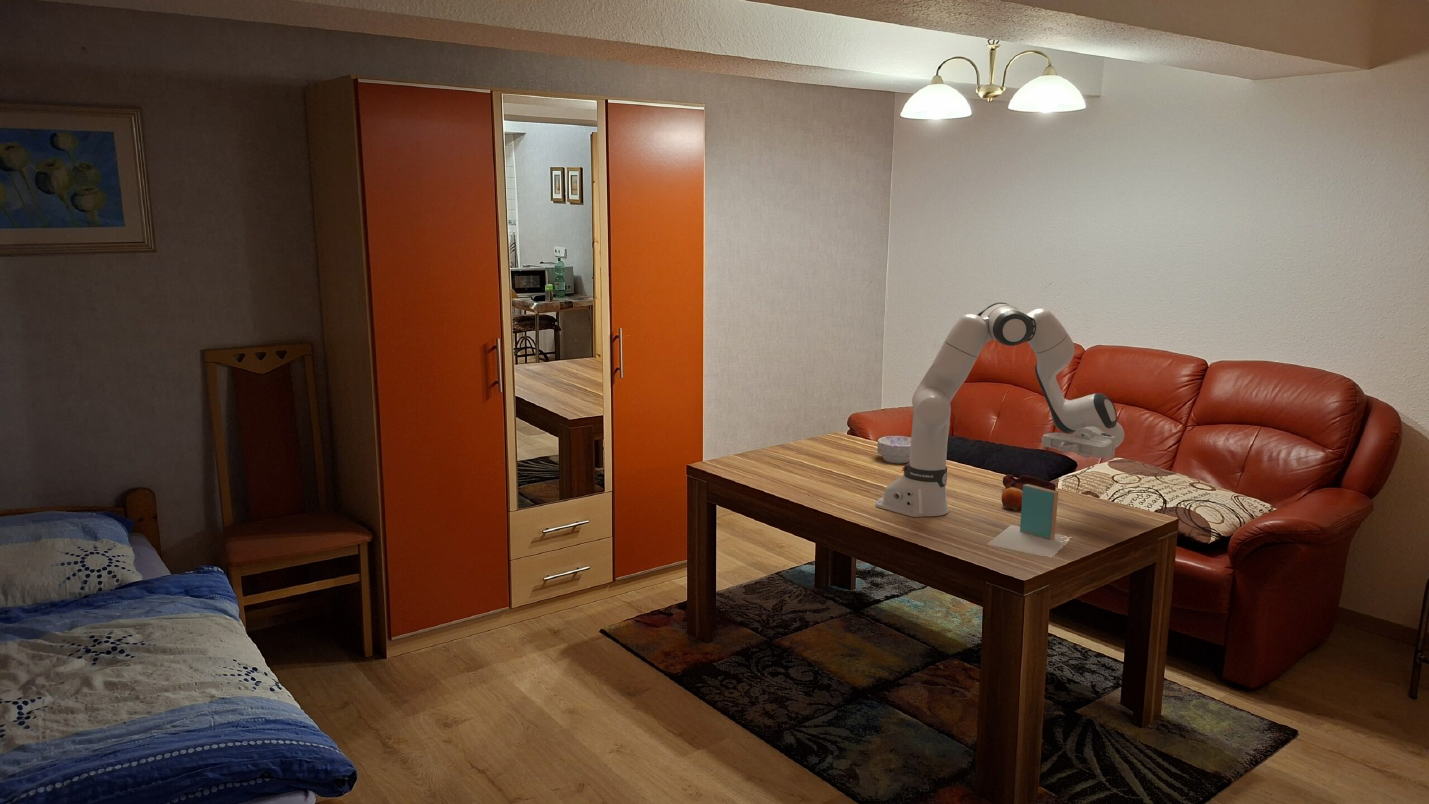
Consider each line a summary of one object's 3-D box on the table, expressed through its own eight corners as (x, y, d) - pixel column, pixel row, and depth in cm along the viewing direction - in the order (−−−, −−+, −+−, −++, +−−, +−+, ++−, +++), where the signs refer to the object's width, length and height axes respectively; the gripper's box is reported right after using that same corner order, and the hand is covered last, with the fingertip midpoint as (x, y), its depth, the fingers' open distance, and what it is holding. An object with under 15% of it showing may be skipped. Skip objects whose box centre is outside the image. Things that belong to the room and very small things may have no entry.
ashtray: (1058, 506, 305) (1059, 491, 304) (1005, 502, 309) (1006, 487, 308) (1051, 490, 322) (1052, 476, 321) (1001, 487, 326) (1002, 473, 325)
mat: (986, 545, 268) (986, 544, 268) (1011, 526, 284) (1011, 524, 284) (1051, 559, 257) (1051, 557, 257) (1073, 538, 274) (1073, 536, 274)
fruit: (995, 506, 298) (1001, 482, 300) (1001, 513, 305) (1006, 490, 307) (1021, 511, 294) (1026, 486, 296) (1026, 518, 300) (1032, 494, 302)
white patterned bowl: (879, 465, 352) (880, 444, 350) (874, 455, 367) (875, 435, 365) (921, 466, 351) (922, 445, 350) (914, 455, 366) (915, 435, 364)
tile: (1050, 540, 271) (1053, 493, 268) (1019, 531, 279) (1022, 485, 276) (1054, 538, 272) (1058, 491, 270) (1023, 529, 280) (1027, 483, 277)
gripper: (1056, 425, 293) (1031, 431, 284) (1120, 437, 278) (1096, 444, 269) (1055, 445, 294) (1030, 452, 286) (1118, 458, 279) (1094, 466, 270)
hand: (1062, 448), depth 277 cm, fingers closed
